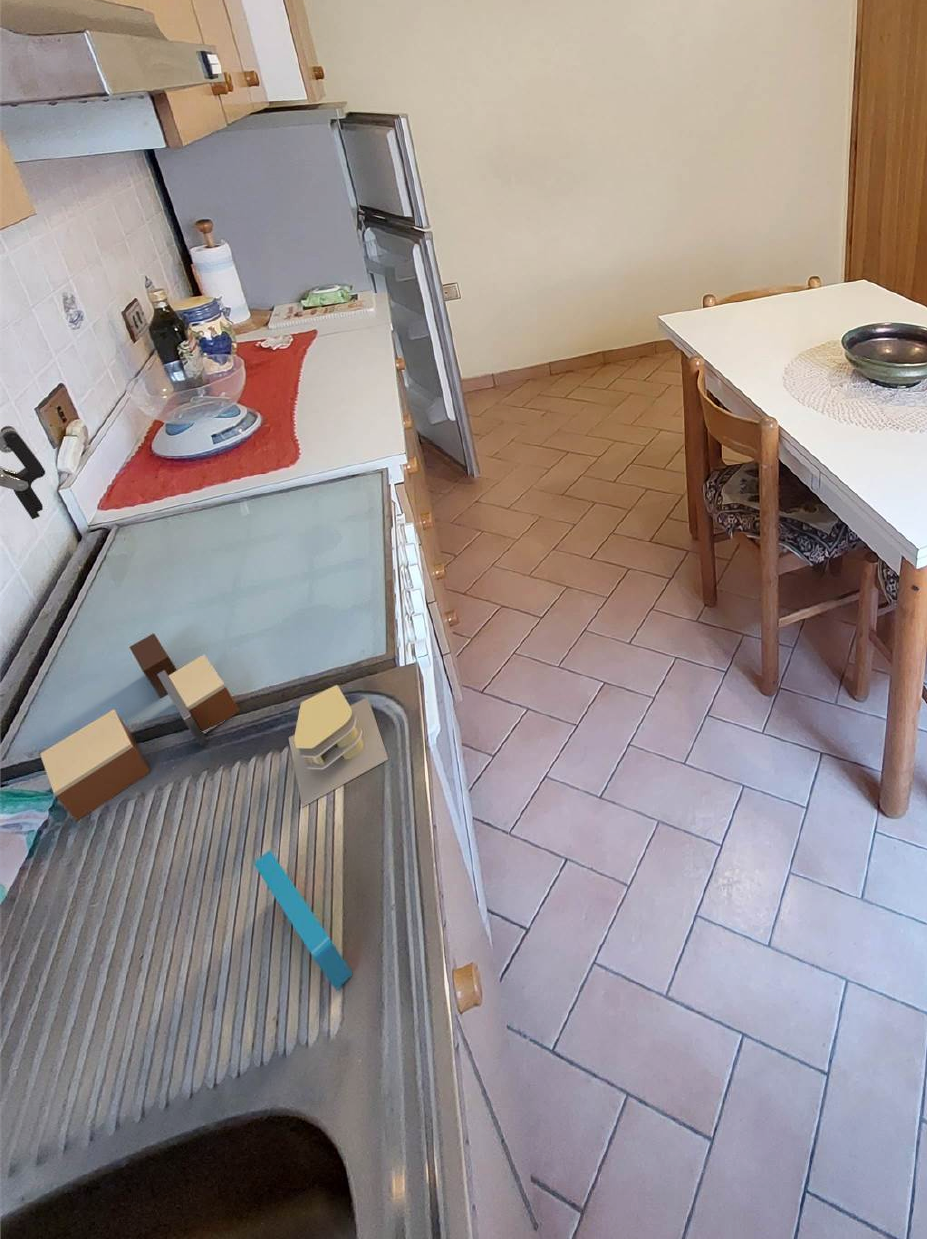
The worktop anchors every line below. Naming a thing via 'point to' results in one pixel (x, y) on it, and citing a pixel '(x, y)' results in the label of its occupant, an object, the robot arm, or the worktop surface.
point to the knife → (164, 678)
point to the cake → (94, 764)
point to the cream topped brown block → (204, 693)
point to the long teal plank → (303, 920)
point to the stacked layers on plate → (333, 743)
